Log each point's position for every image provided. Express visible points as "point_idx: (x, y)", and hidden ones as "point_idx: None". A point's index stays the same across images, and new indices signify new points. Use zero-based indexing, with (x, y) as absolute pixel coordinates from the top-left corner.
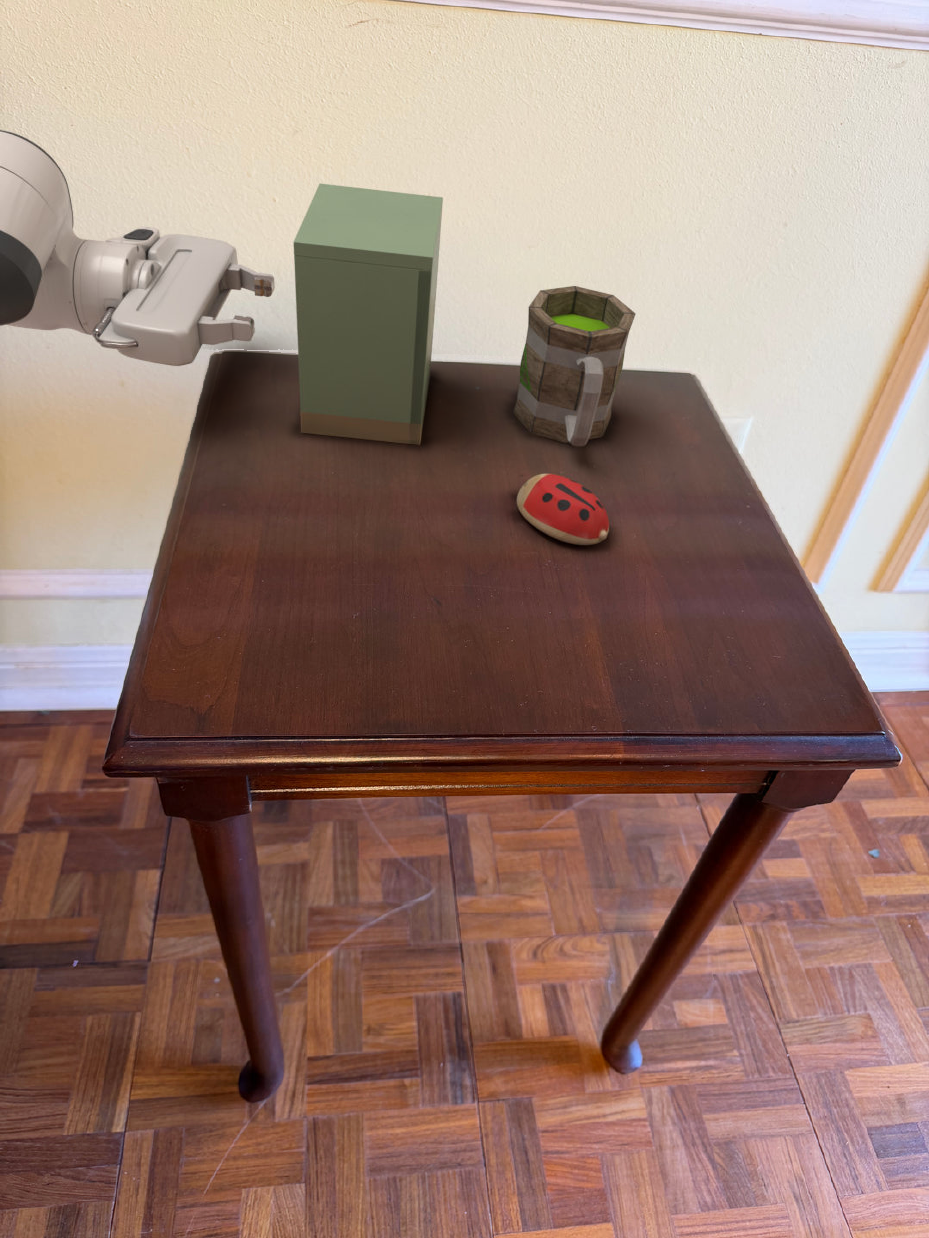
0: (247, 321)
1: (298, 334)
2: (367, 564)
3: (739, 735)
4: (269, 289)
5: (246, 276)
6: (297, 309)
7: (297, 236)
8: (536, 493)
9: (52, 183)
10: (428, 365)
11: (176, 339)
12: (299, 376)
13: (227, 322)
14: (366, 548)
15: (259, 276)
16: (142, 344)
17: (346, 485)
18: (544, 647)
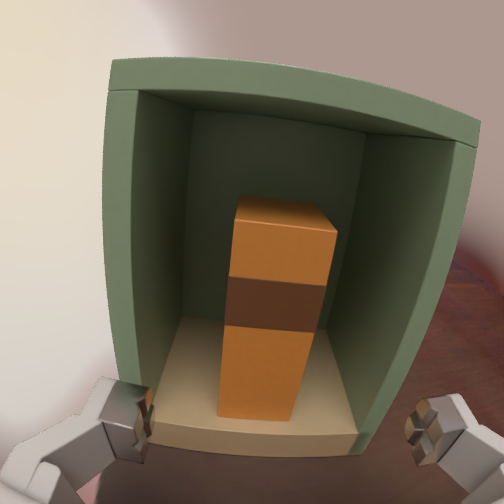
0: (450, 397)
1: (432, 312)
2: (492, 360)
3: (458, 264)
4: (149, 408)
5: (72, 456)
6: (449, 262)
7: (458, 111)
8: None
9: None
10: None
11: None
12: (400, 385)
13: (488, 429)
14: (481, 363)
15: (113, 409)
16: None
17: (429, 390)
18: (472, 297)
